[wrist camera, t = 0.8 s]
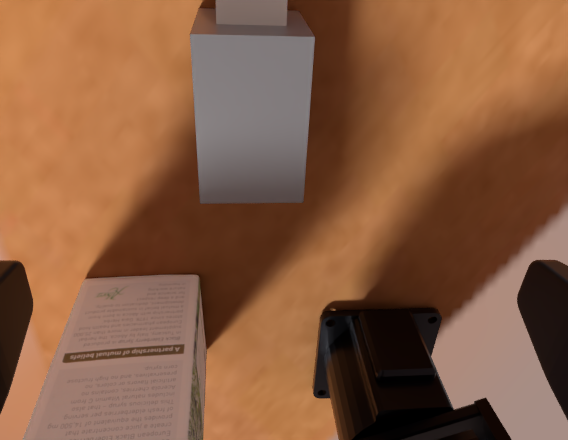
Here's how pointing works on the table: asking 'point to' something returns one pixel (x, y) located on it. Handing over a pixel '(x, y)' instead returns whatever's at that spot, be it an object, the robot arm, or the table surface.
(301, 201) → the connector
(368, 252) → the table surface
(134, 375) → the syrup box
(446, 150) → the table surface
